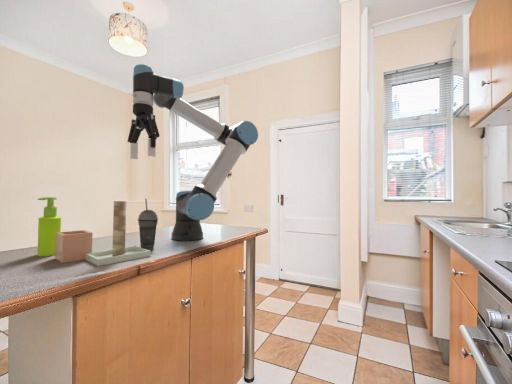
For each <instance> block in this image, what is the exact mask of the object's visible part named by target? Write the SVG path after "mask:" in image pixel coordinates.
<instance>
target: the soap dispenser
mask: <svg viewBox="0 0 512 384" xmlns="http://www.w3.org/2000/svg"><path fill="white" fill-rule="evenodd" d="M37 200H38V201H45V200H46V201H47V202H46V206H44V207H43V216H41V217H39V218H38V226H37V228H38V231H37V257H50V256H55V233H56V232H62V231H61V230H62V229H61V228H62V217H61V216H57V208H58V207H56V206H55V204H54V203H55V200H57V197H53V196H52V197H51V196H50V197H49V196H47V197H46V196H44V197H39V198H37Z"/></svg>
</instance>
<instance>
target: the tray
mask: <svg viewBox="0 0 512 384" xmlns="http://www.w3.org/2000/svg"><path fill="white" fill-rule="evenodd" d="M112 251H113V248H112V249H111V248H110V249H107V250H106V249H104V250H98V251H92V253H86V254H85V260H86V261H87V262H89V263H90V264H91V263H92V264H93V265H95V266H97V267H98V266H99V267H100V266H105V265H110V264H116V263H120V262H121V263H122V262H126V261H132V260H137V259H143V258H147V257H151V254H152V253H151V252H152V250H147V249H144V248H141V246H136V245H135V246H134V245H133V246H125V254H124V255H118V256H112ZM85 260H84V261H85Z"/></svg>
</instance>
